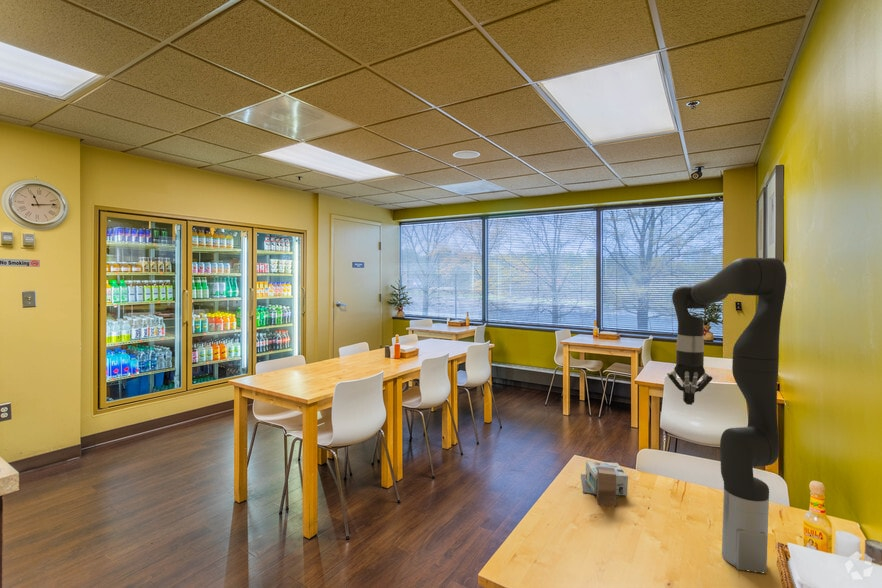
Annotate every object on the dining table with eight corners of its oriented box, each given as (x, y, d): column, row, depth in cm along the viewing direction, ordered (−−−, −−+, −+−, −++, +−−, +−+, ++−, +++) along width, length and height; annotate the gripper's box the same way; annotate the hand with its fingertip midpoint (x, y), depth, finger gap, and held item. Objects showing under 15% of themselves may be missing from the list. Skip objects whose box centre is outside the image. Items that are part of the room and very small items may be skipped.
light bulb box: (628, 475, 141) (594, 474, 141) (628, 496, 141) (594, 494, 141) (617, 462, 151) (585, 460, 152) (616, 481, 152) (584, 479, 152)
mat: (619, 497, 141) (619, 496, 141) (583, 493, 143) (583, 491, 143) (613, 478, 154) (613, 477, 154) (580, 475, 157) (580, 474, 157)
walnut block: (615, 506, 135) (616, 474, 135) (598, 504, 136) (598, 472, 136) (613, 499, 140) (614, 468, 139) (596, 497, 141) (597, 466, 141)
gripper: (670, 350, 136) (668, 405, 137) (717, 352, 133) (716, 409, 133) (664, 346, 143) (662, 399, 144) (709, 348, 140) (708, 402, 141)
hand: (688, 404), depth 139 cm, fingers closed
